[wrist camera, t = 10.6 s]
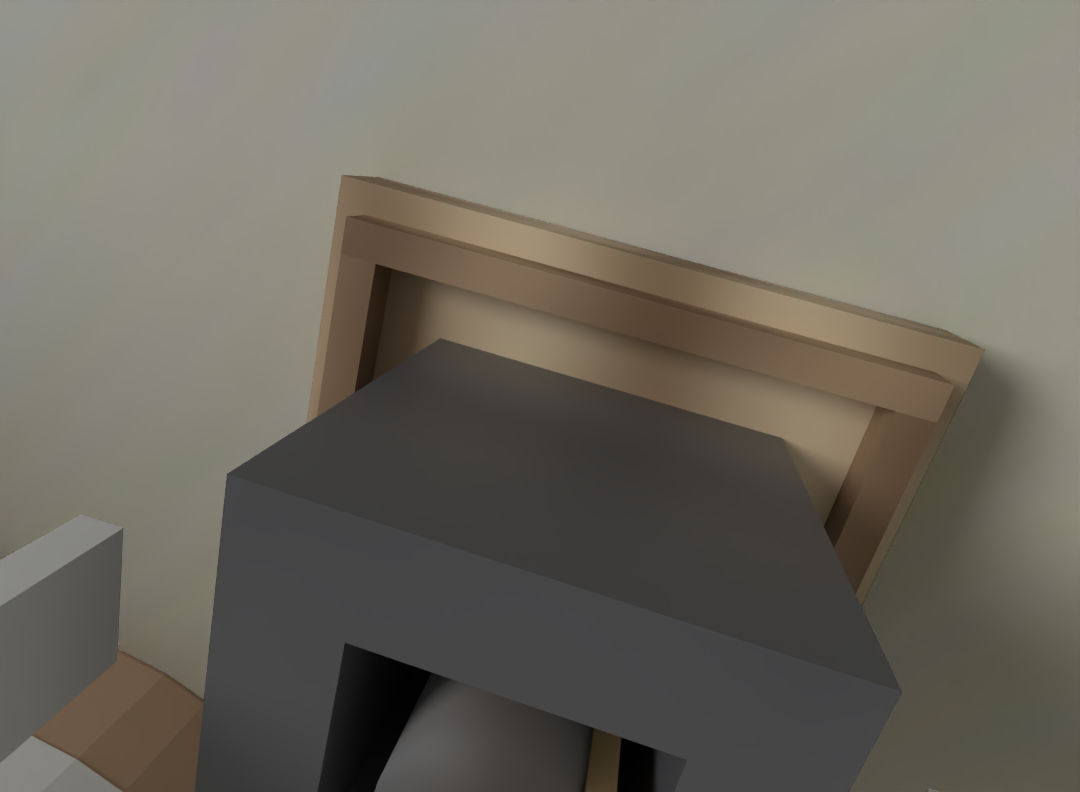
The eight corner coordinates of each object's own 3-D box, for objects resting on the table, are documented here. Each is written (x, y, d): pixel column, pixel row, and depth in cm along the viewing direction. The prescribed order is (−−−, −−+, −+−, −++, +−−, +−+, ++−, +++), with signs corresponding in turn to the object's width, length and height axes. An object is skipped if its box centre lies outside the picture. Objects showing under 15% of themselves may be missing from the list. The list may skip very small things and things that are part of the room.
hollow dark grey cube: (383, 618, 18) (168, 940, 10) (440, 338, 16) (211, 483, 8) (671, 715, 17) (675, 1142, 10) (781, 437, 15) (911, 712, 7)
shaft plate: (306, 628, 21) (19, 975, 12) (378, 177, 17) (7, 155, 7) (741, 777, 20) (808, 1303, 10) (946, 330, 15) (1384, 545, 6)
